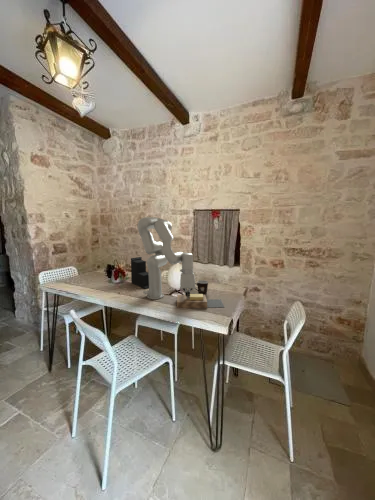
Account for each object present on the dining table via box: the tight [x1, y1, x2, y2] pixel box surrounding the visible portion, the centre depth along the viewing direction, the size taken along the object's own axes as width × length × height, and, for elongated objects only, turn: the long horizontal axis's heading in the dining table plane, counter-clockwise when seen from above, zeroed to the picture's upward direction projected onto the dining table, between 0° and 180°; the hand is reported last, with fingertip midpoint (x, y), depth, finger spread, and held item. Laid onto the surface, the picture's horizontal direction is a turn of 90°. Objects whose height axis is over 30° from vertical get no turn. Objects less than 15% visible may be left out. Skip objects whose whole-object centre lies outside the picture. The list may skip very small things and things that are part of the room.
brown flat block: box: [176, 294, 208, 309], centre depth 151 cm, size 20×14×4 cm
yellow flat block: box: [190, 293, 203, 300], centre depth 151 cm, size 9×6×2 cm, turn 91°
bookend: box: [130, 256, 149, 290], centre depth 193 cm, size 23×11×24 cm, turn 42°
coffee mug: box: [194, 279, 209, 296], centre depth 171 cm, size 12×9×10 cm
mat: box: [207, 298, 225, 309], centre depth 152 cm, size 11×14×1 cm
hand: (187, 297), depth 151 cm, fingers closed
